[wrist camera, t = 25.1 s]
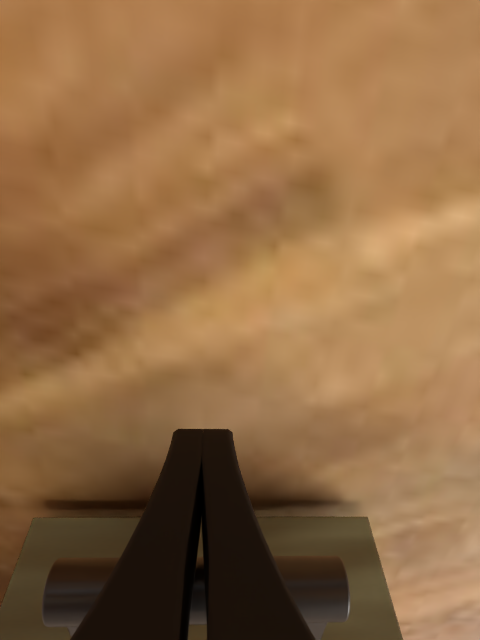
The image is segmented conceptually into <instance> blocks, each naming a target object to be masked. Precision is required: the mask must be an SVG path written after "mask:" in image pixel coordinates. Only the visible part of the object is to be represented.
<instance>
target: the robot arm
mask: <svg viewBox="0 0 480 640" xmlns="http://www.w3.org/2000/svg"><path fill="white" fill-rule="evenodd" d="M201 516H202V541H203V560H204V579H205V598H206V617H207V640H316V639H315V637H314V635H313V634H312V632H311V630H310V629H309V627H308V625H307V623H306V621H305V619H304V618H303V616H302V614H301V612H300V610H299V608H298V606H297V604H296V603H295V601H294V599H293V597H292V595H291V593H290V591H289V589H288V587H287V585H286V583H285V581H284V579H283V577H282V575H281V573H280V571H279V569H278V566H277V564H276V562H275V560H274V558H273V556H272V553H271V551H270V549H269V547H268V544H267V542H266V540H265V537H264V535H263V533H262V530H261V528H260V525H259V523H258V520H257V518H256V515H255V512H254V510H253V507H252V504H251V501H250V499H249V496H248V493H247V490H246V487H245V484H244V481H243V478H242V475H241V471H240V468H239V464H238V460H237V456H236V452H235V447H234V441H233V433H232V432H231V431H230V430H228V429H177V430H176V431H174V433H173V437H172V441H171V445H170V448H169V451H168V454H167V457H166V460H165V463H164V466H163V468H162V471H161V473H160V476H159V479H158V481H157V483H156V486H155V488H154V490H153V492H152V495H151V497H150V499H149V501H148V504H147V506H146V508H145V510H144V512H143V515H142V517H141V519H140V521H139V523H138V524H137V526H136V528H135V530H134V532H133V534H132V536H131V538H130V540H129V542H128V544H127V546H126V548H125V550H124V552H123V553H122V555H121V557H120V559H119V561H118V562H117V564H116V566H115V568H114V570H113V571H112V573H111V575H110V576H109V578H108V580H107V582H106V583H105V585H104V587H103V588H102V590H101V592H100V593H99V595H98V597H97V598H96V600H95V601H94V603H93V605H92V606H91V608H90V609H89V611H88V612H87V614H86V616H85V617H84V619H83V620H82V622H81V623H80V625H79V626H78V628H77V630H76V631H75V633H74V634H73V636H72V637H71V639H70V640H188V632H189V620H190V612H191V604H192V595H193V587H194V579H195V571H196V562H197V554H198V546H199V537H200V529H201Z"/></svg>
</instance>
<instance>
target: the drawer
mask: <svg viewBox="0 0 480 640" xmlns="http://www.w3.org/2000/svg"><path fill="white" fill-rule="evenodd" d="M256 518H257V520H258V523H259V525H260V528H261V530H262V533H263V535H264V537H265V540H266V542H267V544H268V547H269V549H270V551H271V553H272V556H273V558H274V560H275V562H276V564H277V566H278V569H279V571H280V573H281V575H282V577H283V579H284V581H285V583H286V585H287V587H288V589H289V591H290V593H291V595H292V597H293V599H294V601H295V603H296V604H297V606H298V608H299V610H300V612H301V614H302V616H303V618H304V619H305V621H306V623H307V625H308V627H309V629H310V630H311V632H312V634H313V635H314V637H315V639H316V640H403V638H402V634H401V631H400V628H399V624H398V621H397V617H396V614H395V610H394V607H393V603H392V600H391V596H390V593H389V590H388V586H387V583H386V579H385V576H384V572H383V569H382V565H381V562H380V558H379V555H378V552H377V548H376V545H375V541H374V538H373V534H372V531H371V527H370V524H369V520H368V518H367V517H256ZM140 519H141V517H92V518H33V520H32V523H31V526H30V528H29V531H28V534H27V536H26V539H25V542H24V545H23V547H22V550H21V553H20V555H19V558H18V561H17V564H16V566H15V569H14V572H13V574H12V577H11V580H10V583H9V585H8V588H7V591H6V593H5V596H4V599H3V602H2V604H1V607H0V640H70V639H71V637H72V636H73V634H74V633H75V631H76V630H77V628H78V626H79V625H80V623H81V622H82V620H83V619H84V617H85V616H86V614H87V612H88V611H89V609H90V608H91V606H92V605H93V603H94V601H95V600H96V598H97V597H98V595H99V593H100V592H101V590H102V588H103V587H104V585H105V583H106V582H107V580H108V578H109V576H110V575H111V573H112V571H113V570H114V568H115V566H116V564H117V562H118V561H119V559H120V557H121V555H122V553H123V552H124V550H125V548H126V546H127V544H128V542H129V540H130V538H131V536H132V534H133V532H134V530H135V528H136V526H137V524H138V523H139V521H140ZM188 640H207V617H206V598H205V579H204V560H203V541H202V517H201V529H200V537H199V546H198V554H197V562H196V571H195V579H194V587H193V595H192V604H191V612H190V620H189V632H188Z"/></svg>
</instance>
